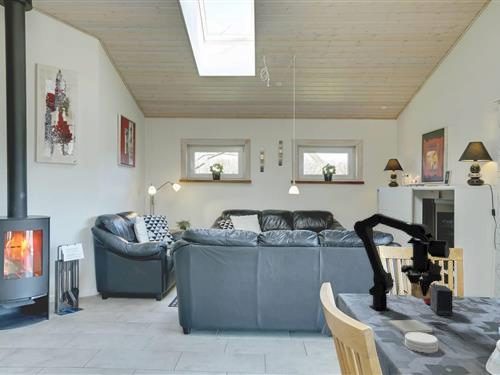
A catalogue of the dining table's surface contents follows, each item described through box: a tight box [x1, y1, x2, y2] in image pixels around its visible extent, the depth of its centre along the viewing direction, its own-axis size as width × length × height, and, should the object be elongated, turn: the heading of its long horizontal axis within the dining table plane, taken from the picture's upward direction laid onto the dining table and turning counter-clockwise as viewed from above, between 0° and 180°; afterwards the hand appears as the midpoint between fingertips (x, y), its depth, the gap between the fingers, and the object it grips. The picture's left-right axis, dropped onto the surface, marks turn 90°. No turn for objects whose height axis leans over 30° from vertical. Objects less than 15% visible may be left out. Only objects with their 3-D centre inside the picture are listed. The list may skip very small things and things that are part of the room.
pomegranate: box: [422, 282, 437, 305], centre depth 172 cm, size 10×10×9 cm
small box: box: [429, 284, 454, 317], centre depth 160 cm, size 11×6×10 cm, turn 168°
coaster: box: [404, 332, 440, 354], centre depth 122 cm, size 10×10×4 cm
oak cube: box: [410, 283, 431, 300], centre depth 151 cm, size 5×5×5 cm
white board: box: [388, 319, 434, 335], centre depth 139 cm, size 11×11×1 cm
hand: (420, 294), depth 151 cm, fingers closed on oak cube, 5 cm apart
